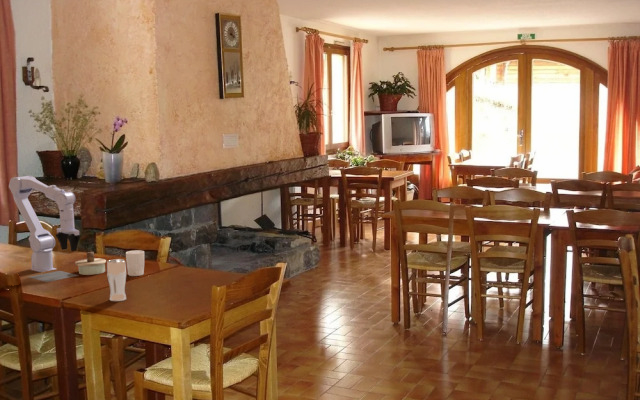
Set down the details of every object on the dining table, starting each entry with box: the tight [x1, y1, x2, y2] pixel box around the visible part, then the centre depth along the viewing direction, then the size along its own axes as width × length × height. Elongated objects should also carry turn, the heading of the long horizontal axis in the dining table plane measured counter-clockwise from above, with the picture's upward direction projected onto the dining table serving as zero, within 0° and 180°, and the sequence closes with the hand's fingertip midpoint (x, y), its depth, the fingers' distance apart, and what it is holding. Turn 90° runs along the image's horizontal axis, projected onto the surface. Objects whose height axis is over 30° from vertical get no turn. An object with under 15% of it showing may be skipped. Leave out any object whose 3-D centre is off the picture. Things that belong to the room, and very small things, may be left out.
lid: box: [74, 251, 107, 267], centre depth 315 cm, size 13×13×5 cm
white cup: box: [125, 249, 145, 277], centre depth 312 cm, size 8×8×10 cm
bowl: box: [78, 263, 106, 276], centre depth 316 cm, size 11×11×4 cm
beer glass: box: [106, 258, 127, 303], centre depth 271 cm, size 7×7×15 cm
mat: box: [28, 270, 80, 283], centre depth 309 cm, size 15×15×1 cm
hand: (69, 250), depth 315 cm, fingers open, 7 cm apart
